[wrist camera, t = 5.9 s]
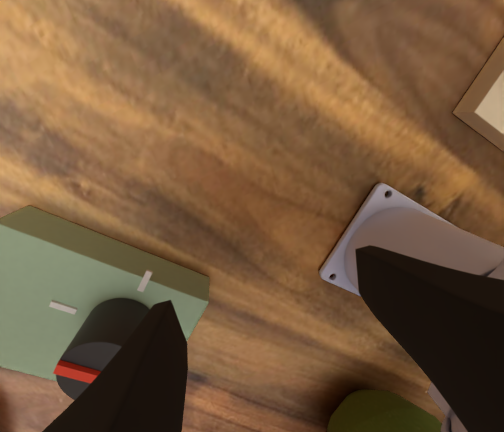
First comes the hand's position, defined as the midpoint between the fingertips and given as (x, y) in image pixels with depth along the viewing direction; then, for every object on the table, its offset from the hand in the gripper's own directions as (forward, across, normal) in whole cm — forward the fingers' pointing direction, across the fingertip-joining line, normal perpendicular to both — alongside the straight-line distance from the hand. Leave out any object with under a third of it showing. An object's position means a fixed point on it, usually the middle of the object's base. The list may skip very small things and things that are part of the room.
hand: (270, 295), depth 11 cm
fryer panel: (+9, +11, +3) cm, 14 cm away
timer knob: (+6, +9, +4) cm, 11 cm away
